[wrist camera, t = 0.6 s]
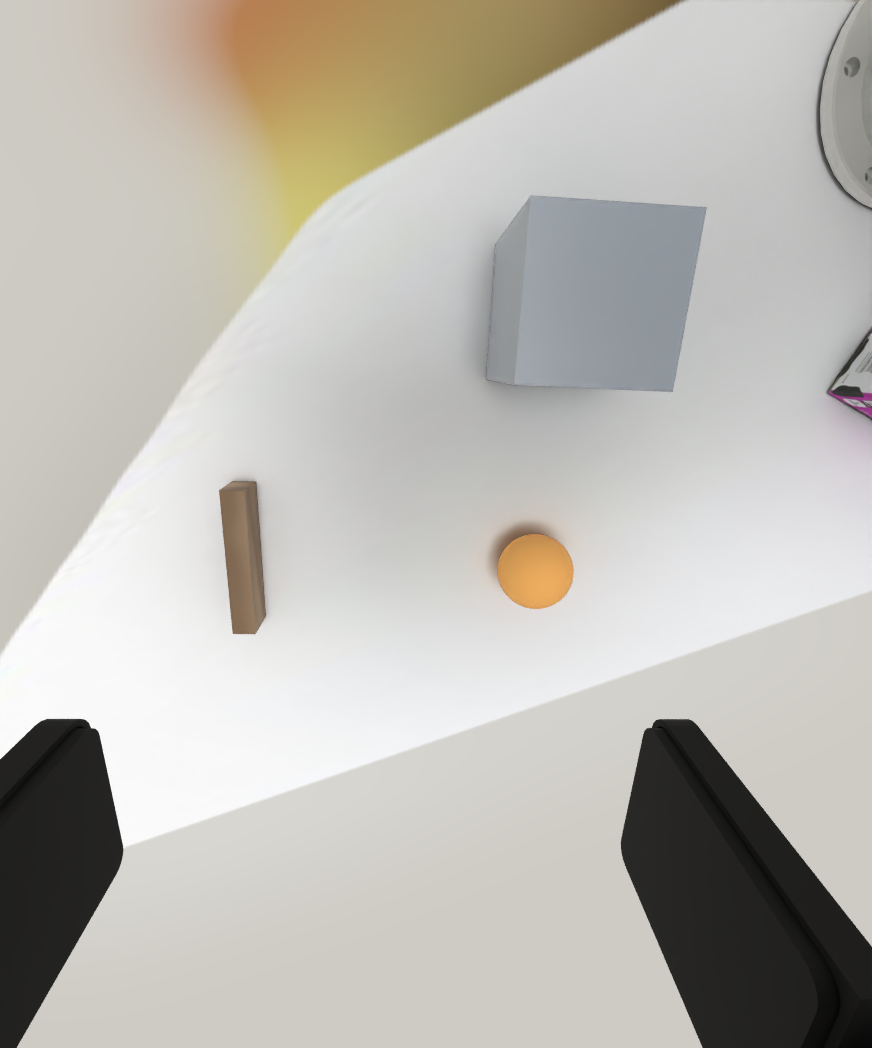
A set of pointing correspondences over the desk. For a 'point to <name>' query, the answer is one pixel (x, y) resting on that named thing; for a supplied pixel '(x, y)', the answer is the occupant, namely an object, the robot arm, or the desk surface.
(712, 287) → the desk surface
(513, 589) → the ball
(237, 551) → the bar
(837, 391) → the candy bar box
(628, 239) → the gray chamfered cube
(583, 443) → the desk surface
